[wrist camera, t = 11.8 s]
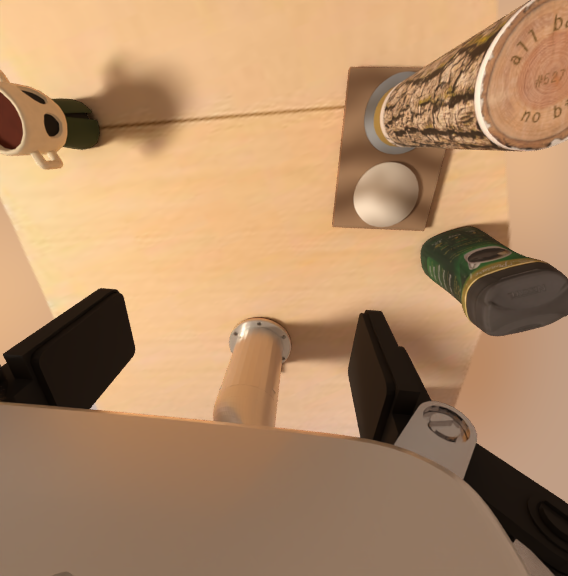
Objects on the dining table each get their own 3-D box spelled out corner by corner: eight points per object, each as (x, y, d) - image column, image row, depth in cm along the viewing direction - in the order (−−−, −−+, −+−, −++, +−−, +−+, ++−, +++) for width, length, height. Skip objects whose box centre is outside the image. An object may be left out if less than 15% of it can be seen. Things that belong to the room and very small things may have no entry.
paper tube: (370, 93, 35) (486, 3, 13) (427, 77, 34) (665, -50, 11) (374, 152, 38) (474, 164, 16) (427, 139, 37) (615, 133, 14)
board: (420, 228, 44) (426, 232, 42) (332, 224, 45) (333, 228, 43) (461, 71, 35) (470, 67, 33) (348, 69, 36) (351, 65, 34)
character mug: (122, 154, 42) (53, 159, 31) (85, 172, 44) (7, 182, 32) (74, 71, 38) (-27, 39, 26) (36, 94, 39) (-76, 74, 28)
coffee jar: (422, 280, 48) (482, 351, 32) (415, 239, 45) (478, 294, 29) (483, 263, 46) (581, 330, 30) (480, 218, 43) (588, 266, 27)
